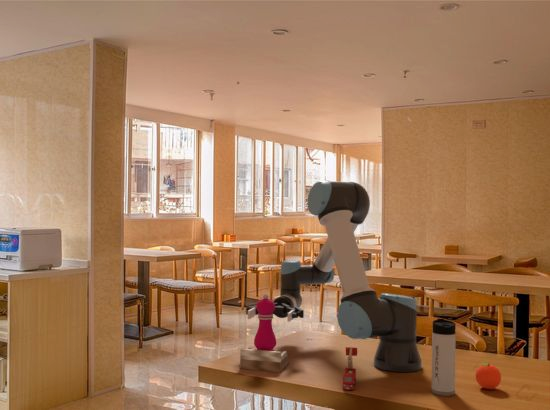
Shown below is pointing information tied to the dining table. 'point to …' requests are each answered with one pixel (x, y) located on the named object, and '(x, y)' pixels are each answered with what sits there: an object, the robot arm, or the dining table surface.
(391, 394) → the dining table surface
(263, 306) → the pepper mill
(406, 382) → the dining table surface
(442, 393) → the travel mug
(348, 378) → the toy fire truck
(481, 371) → the clementine
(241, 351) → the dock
